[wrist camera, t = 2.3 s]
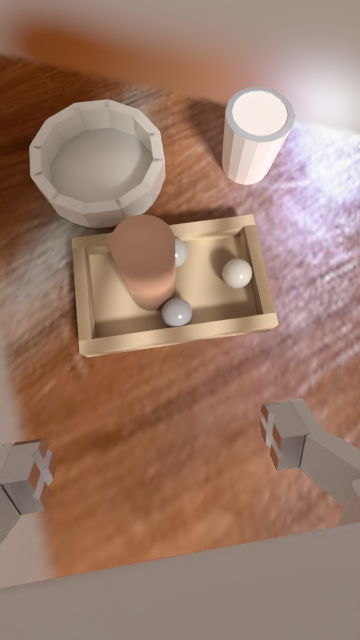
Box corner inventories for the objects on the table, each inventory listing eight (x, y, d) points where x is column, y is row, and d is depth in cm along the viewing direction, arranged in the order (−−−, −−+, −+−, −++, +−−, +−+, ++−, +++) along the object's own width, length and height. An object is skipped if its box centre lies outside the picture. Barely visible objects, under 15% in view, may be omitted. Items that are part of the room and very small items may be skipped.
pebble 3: (245, 264, 33) (252, 251, 30) (250, 290, 32) (258, 279, 29) (218, 267, 33) (222, 255, 30) (223, 294, 32) (227, 284, 29)
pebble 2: (156, 302, 31) (184, 302, 32) (160, 331, 30) (188, 330, 31) (164, 293, 28) (194, 293, 29) (168, 325, 28) (198, 323, 29)
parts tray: (246, 228, 35) (252, 214, 32) (269, 330, 32) (278, 324, 29) (79, 250, 34) (71, 237, 31) (88, 357, 31) (79, 353, 28)
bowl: (155, 118, 38) (153, 94, 35) (172, 220, 35) (171, 202, 32) (40, 131, 38) (27, 108, 35) (45, 236, 34) (32, 220, 31)
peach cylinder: (172, 265, 33) (170, 210, 23) (178, 307, 32) (179, 269, 22) (127, 271, 33) (106, 218, 23) (132, 314, 31) (112, 278, 22)
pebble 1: (151, 242, 32) (173, 246, 34) (155, 270, 31) (177, 272, 33) (169, 231, 30) (191, 235, 32) (173, 260, 29) (196, 263, 31)
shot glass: (231, 132, 38) (243, 75, 31) (282, 154, 37) (305, 101, 30) (206, 174, 36) (213, 124, 30) (259, 198, 36) (278, 152, 29)
